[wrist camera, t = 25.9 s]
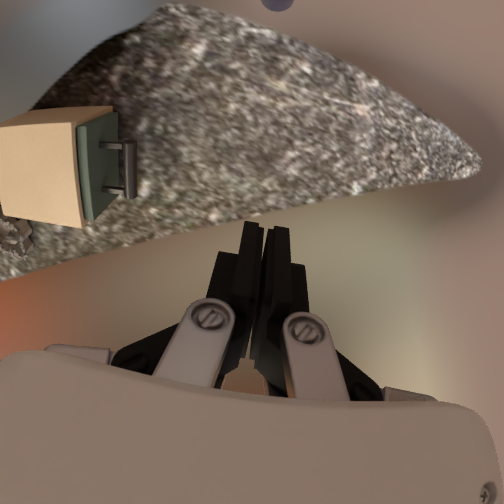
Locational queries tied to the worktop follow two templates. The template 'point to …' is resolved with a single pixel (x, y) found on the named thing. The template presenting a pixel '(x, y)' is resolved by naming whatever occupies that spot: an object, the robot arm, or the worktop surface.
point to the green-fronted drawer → (104, 164)
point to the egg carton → (15, 236)
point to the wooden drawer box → (43, 165)
